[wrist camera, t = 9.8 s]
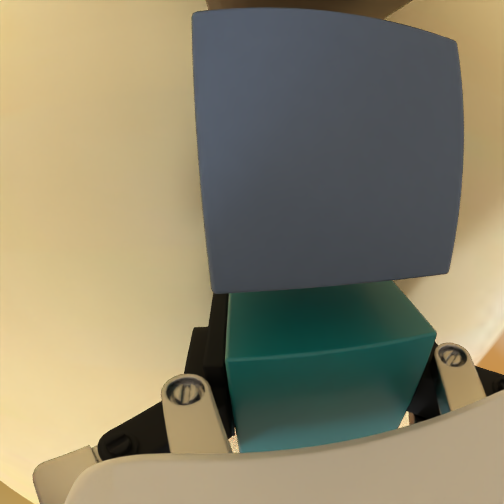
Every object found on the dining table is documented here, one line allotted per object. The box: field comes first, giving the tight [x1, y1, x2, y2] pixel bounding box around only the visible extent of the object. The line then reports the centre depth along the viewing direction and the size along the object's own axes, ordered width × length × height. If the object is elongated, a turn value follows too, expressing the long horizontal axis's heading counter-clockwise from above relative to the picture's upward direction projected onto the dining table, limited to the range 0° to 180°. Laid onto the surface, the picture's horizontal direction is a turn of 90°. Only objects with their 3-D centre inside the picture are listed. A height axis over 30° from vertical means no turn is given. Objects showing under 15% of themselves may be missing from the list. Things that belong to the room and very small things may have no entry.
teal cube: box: [225, 280, 437, 453], centre depth 9 cm, size 5×5×5 cm
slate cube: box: [192, 7, 464, 294], centre depth 7 cm, size 5×5×5 cm
